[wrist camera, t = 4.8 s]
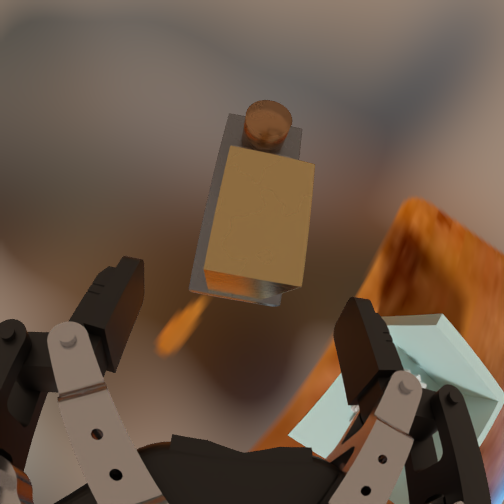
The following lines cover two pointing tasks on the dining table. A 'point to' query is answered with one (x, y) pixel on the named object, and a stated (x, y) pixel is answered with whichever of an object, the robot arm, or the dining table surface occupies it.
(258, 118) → the body
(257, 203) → the lever cap
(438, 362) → the right angle wall
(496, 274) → the dining table surface
